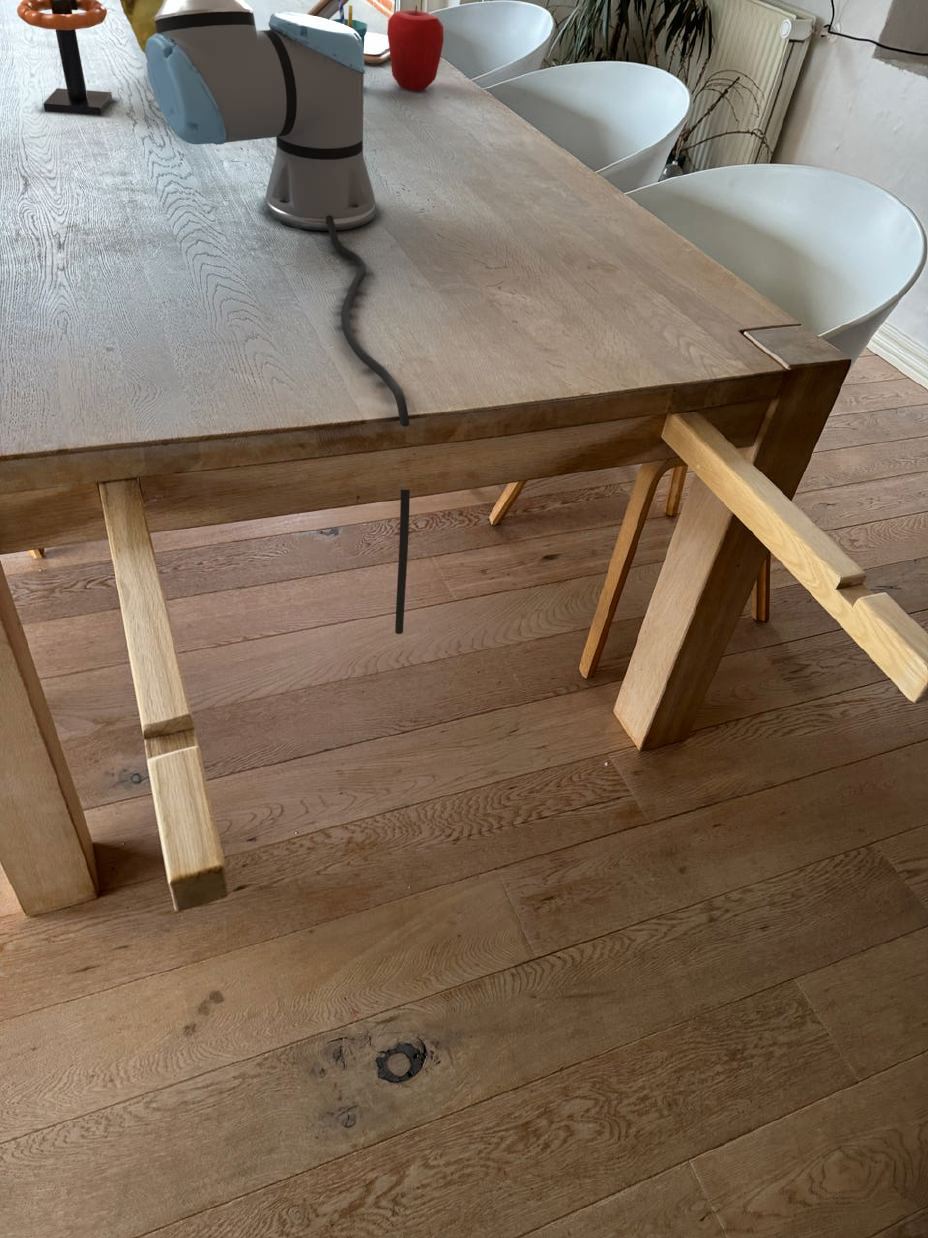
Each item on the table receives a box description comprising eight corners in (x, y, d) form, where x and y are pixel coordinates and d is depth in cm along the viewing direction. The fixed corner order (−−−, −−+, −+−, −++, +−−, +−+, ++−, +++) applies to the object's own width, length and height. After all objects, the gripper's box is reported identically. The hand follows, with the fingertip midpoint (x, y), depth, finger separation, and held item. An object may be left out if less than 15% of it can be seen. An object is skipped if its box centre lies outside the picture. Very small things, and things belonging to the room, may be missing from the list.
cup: (315, 77, 178) (313, -15, 167) (353, 76, 180) (353, -15, 170) (337, 98, 169) (336, 2, 158) (377, 97, 171) (379, 3, 161)
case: (321, 32, 204) (319, -56, 193) (410, 47, 201) (413, -42, 190) (284, 51, 189) (279, -43, 178) (379, 67, 186) (381, -27, 175)
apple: (450, 89, 180) (455, 8, 170) (415, 97, 174) (419, 13, 164) (410, 76, 184) (413, -4, 175) (375, 83, 178) (377, 1, 169)
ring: (101, 33, 141) (98, 18, 140) (12, 29, 140) (9, 13, 138) (112, 8, 150) (109, -6, 149) (28, 4, 148) (25, -10, 147)
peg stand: (101, 115, 151) (82, 6, 140) (44, 111, 150) (21, 1, 139) (112, 99, 157) (95, -6, 146) (58, 95, 156) (37, -11, 145)
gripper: (23, -192, 137) (58, -6, 153) (-7, -185, 126) (34, 15, 142) (75, -186, 138) (104, -2, 154) (49, -179, 127) (84, 19, 143)
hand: (70, 6), depth 148 cm, fingers closed on ring, 2 cm apart
